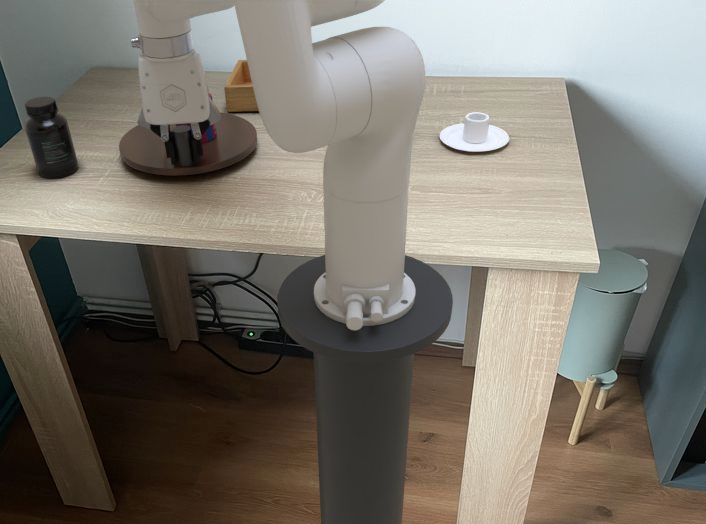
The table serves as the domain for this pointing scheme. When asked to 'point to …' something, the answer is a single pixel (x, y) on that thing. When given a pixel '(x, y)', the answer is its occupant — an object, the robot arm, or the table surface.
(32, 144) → the supplement bottle
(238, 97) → the tray
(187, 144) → the turntable
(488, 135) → the candle holder
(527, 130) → the table surface
